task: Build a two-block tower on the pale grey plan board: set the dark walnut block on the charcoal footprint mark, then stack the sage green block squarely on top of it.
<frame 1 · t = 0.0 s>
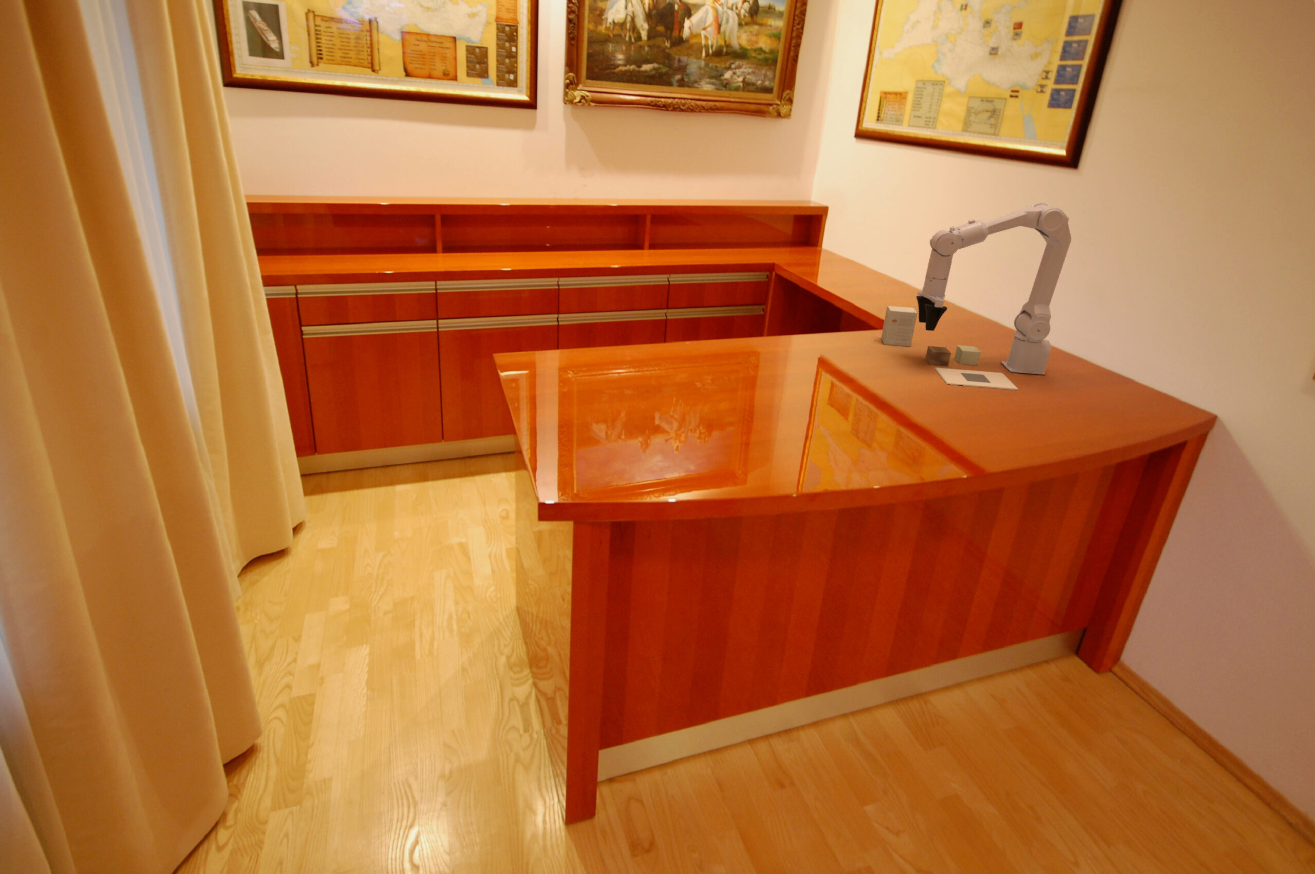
hand: (926, 326, 205), 10 cm above the table, tool pointing down, fingers open, 7 cm apart
walnut block: (936, 363, 209), on the table
small box: (895, 343, 224), on the table
sage block: (965, 362, 211), on the table
plan board: (975, 379, 198), on the table
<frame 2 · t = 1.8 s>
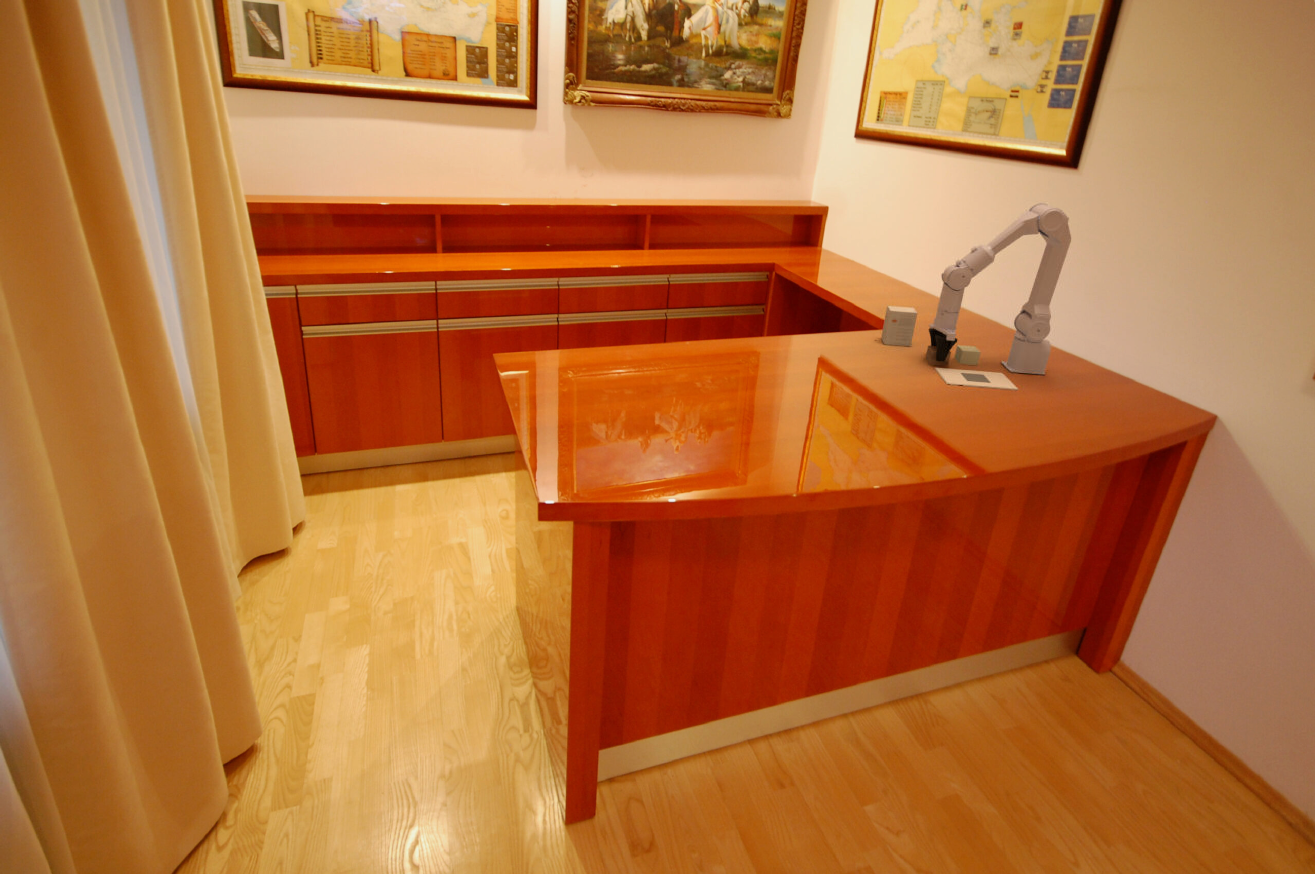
hand: (937, 357, 208), 1 cm above the table, tool pointing down, fingers closed on walnut block, 5 cm apart
walnut block: (936, 362, 209), on the table, touching gripper
everything else where it was.
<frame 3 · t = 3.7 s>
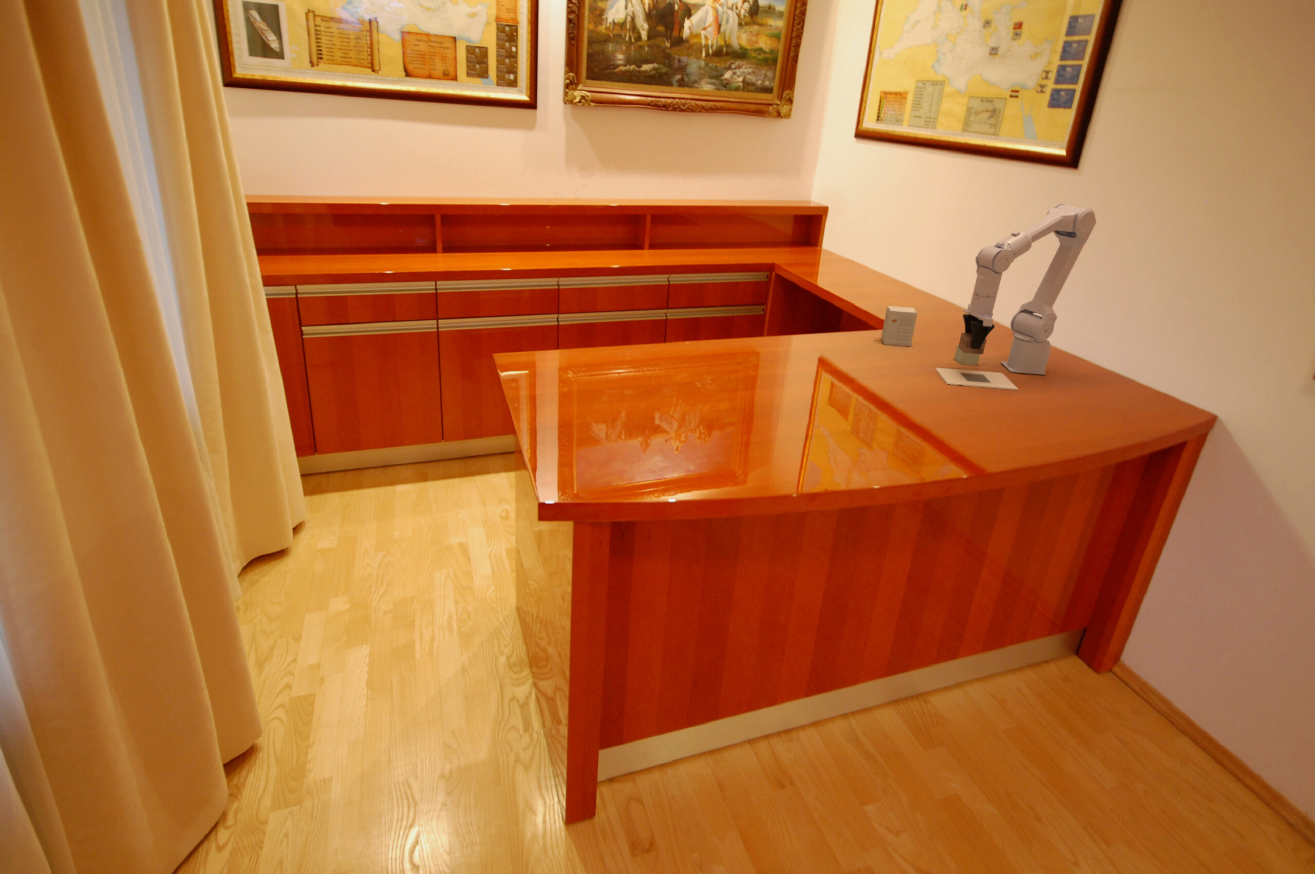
hand: (972, 345, 197), 8 cm above the table, tool pointing down, fingers closed on walnut block, 5 cm apart
walnut block: (970, 350, 198), point 7 cm above the table, touching gripper
everything else where it was.
when the fingers open (3 cm above the table, at t = 5.6 s): walnut block stays where it is, resting on plan board.
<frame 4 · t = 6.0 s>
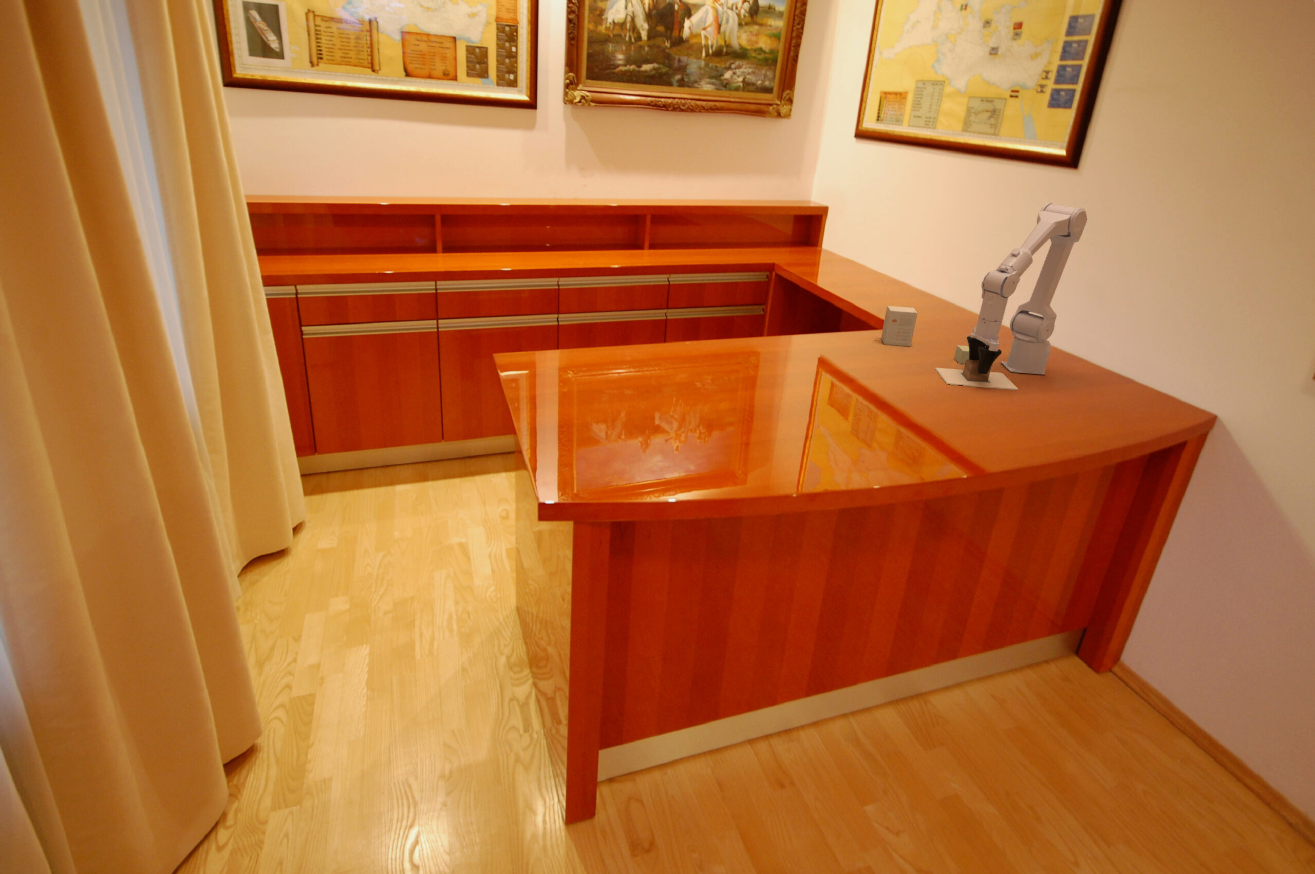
hand: (977, 368, 197), 3 cm above the table, tool pointing down, fingers open, 7 cm apart
walnut block: (974, 377, 198), resting on plan board
everything else where it was.
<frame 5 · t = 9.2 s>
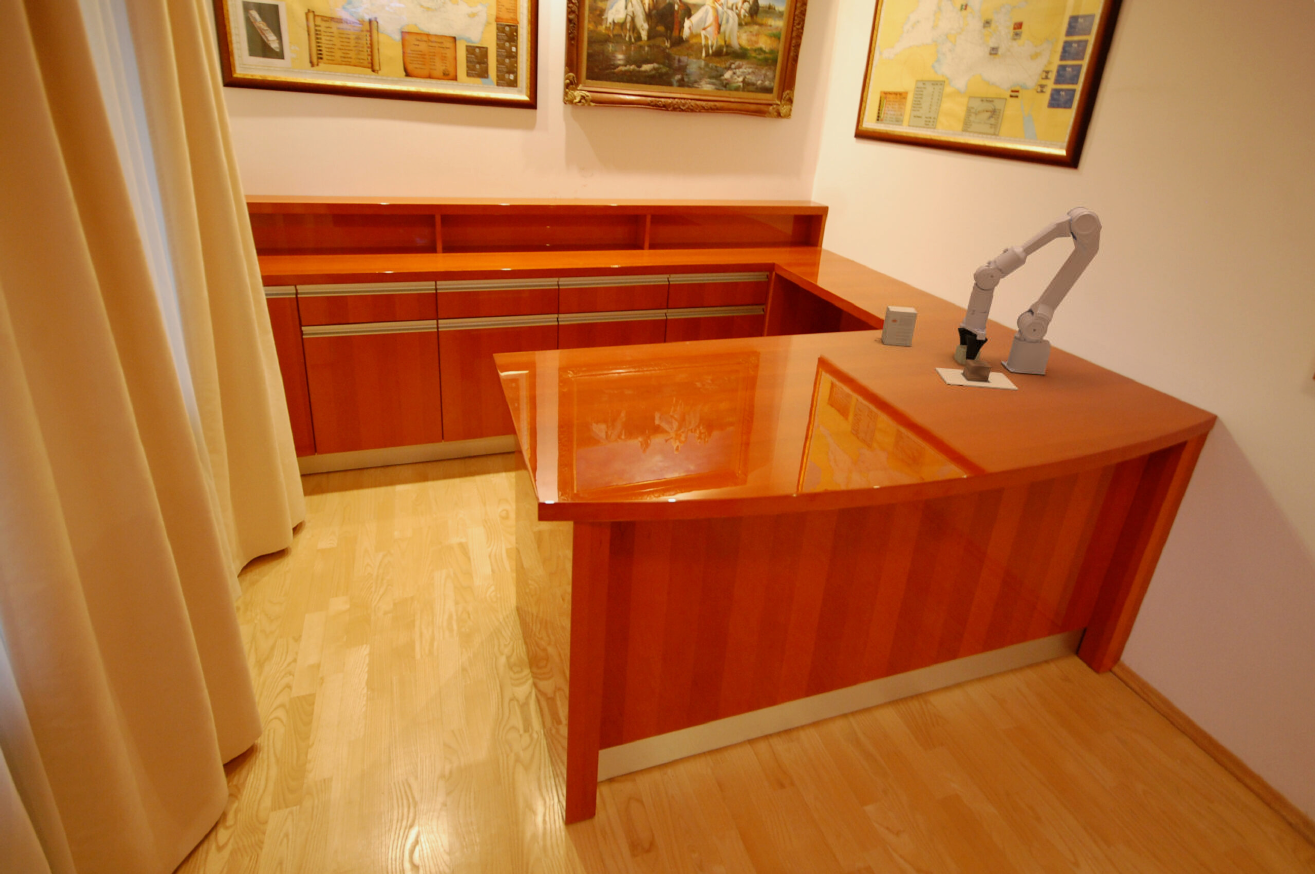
hand: (966, 356, 211), 1 cm above the table, tool pointing down, fingers closed on sage block, 5 cm apart
sage block: (965, 361, 211), on the table, touching gripper
everything else where it was.
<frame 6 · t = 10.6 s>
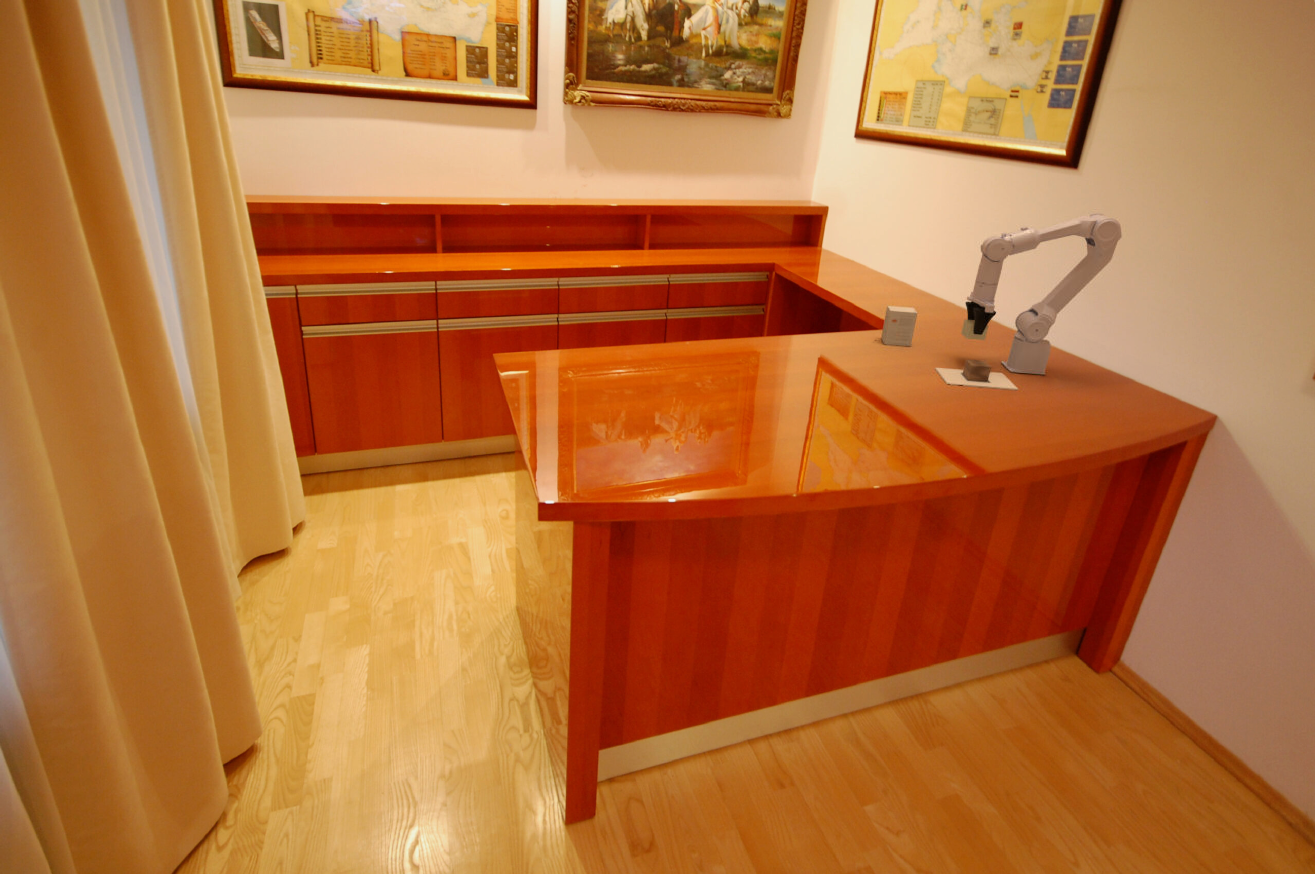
hand: (974, 331, 206), 9 cm above the table, tool pointing down, fingers closed on sage block, 5 cm apart
sage block: (972, 336, 207), point 8 cm above the table, touching gripper
everything else where it was.
when the fingers open (7 cm above the table, at t = 12.5 s): sage block stays where it is, resting on walnut block.
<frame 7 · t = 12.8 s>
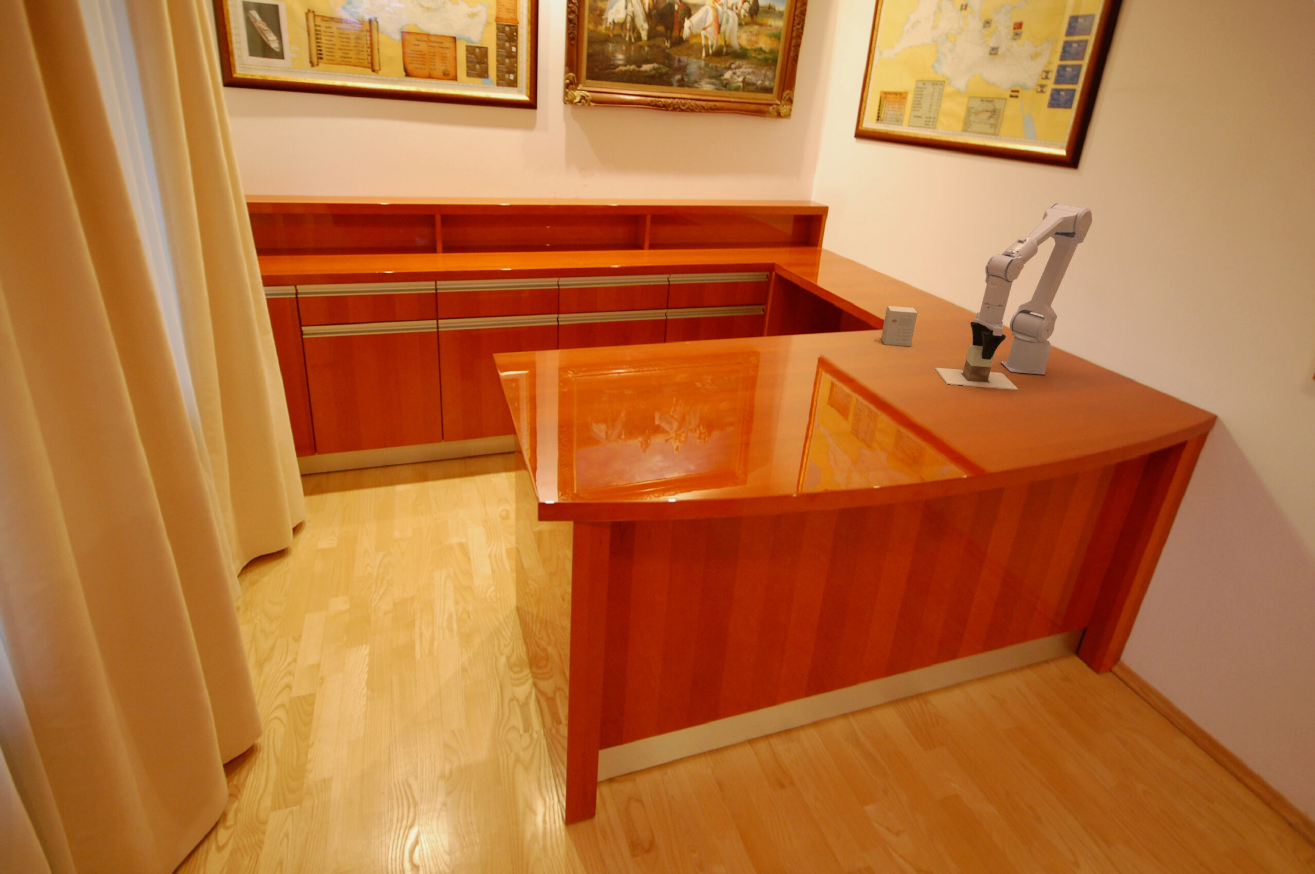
hand: (981, 354, 195), 7 cm above the table, tool pointing down, fingers open, 7 cm apart
walnut block: (974, 377, 198), resting on plan board, touching sage block
sage block: (978, 363, 196), point 4 cm above the table, touching walnut block
everything else where it was.
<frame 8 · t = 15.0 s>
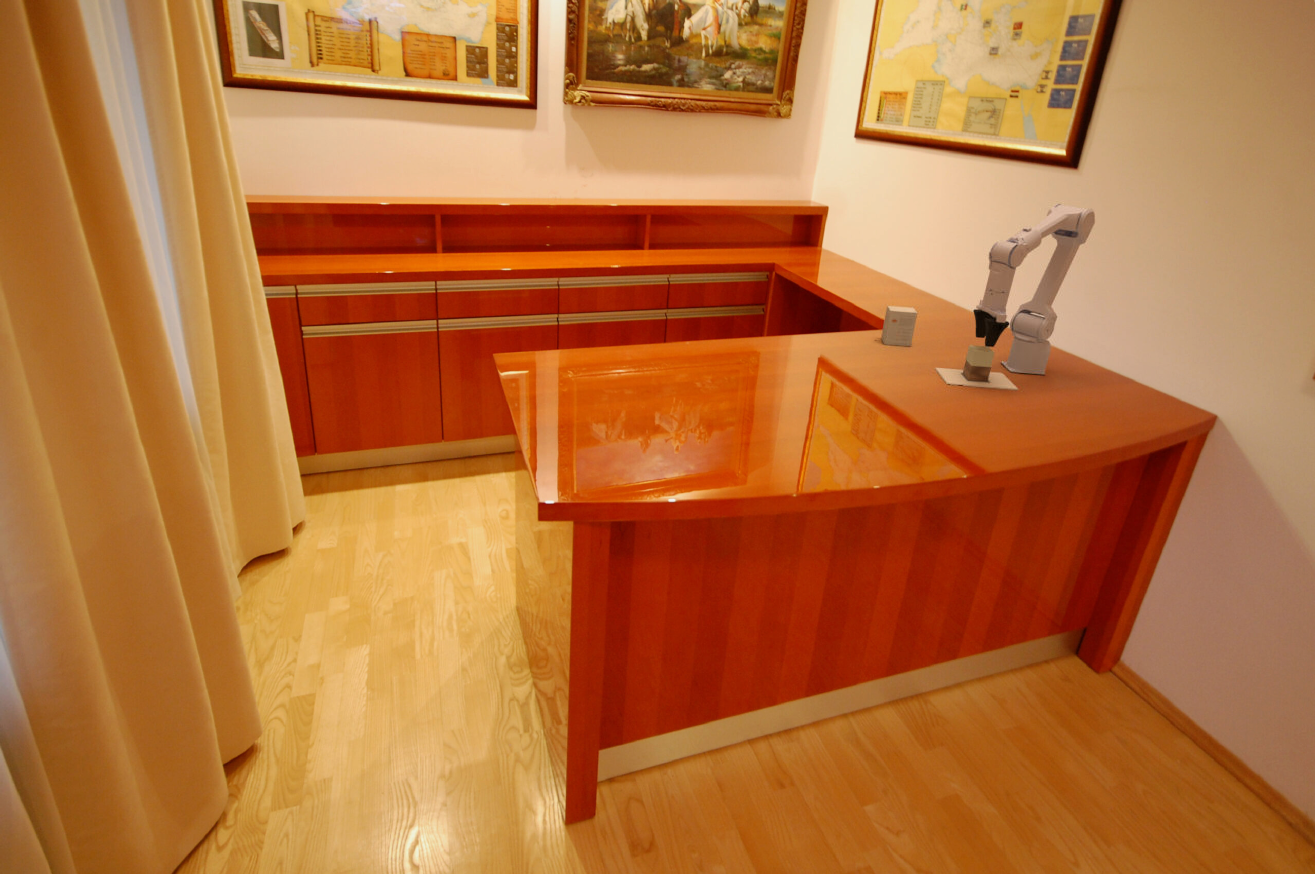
hand: (984, 341, 193), 10 cm above the table, tool pointing down, fingers open, 7 cm apart
nothing on the table moved.
at the end: walnut block 0.1 cm off-centre on the plan board, point 0.5 cm above the plan board's base; sage block 0.1 cm off-centre on the walnut block, point 4.0 cm above the walnut block's base; sage block tilted 0° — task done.
